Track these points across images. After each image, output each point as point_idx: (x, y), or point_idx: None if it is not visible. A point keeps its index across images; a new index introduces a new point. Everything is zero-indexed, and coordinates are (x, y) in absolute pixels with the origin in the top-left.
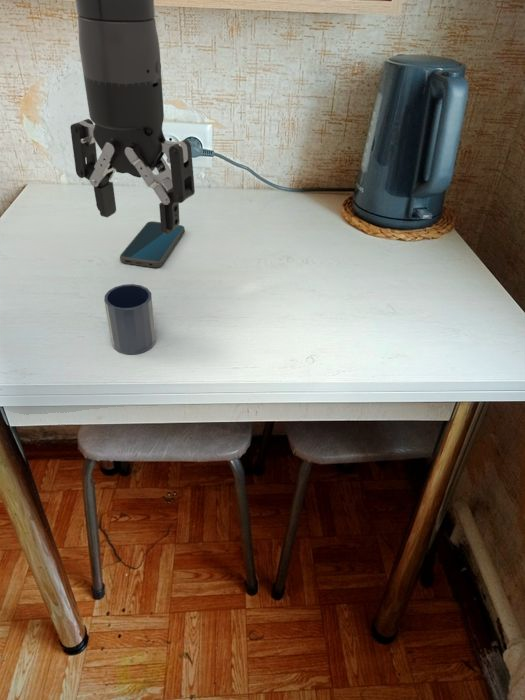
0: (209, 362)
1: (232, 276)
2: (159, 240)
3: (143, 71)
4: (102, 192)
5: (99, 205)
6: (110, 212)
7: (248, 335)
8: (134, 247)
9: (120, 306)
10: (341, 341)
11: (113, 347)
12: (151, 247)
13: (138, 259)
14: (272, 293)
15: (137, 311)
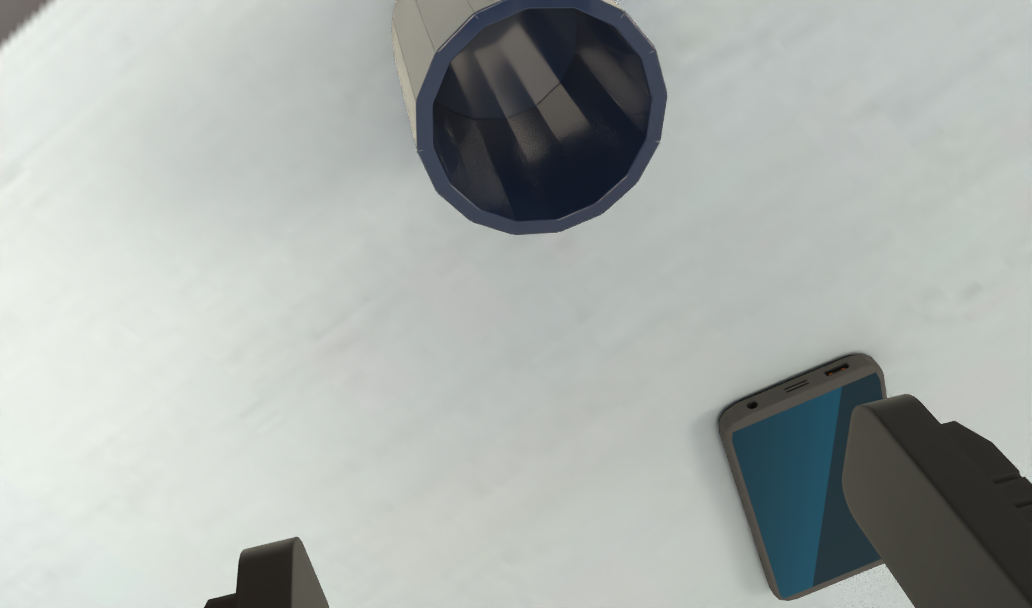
0: (122, 130)
1: (465, 531)
2: (807, 509)
3: None
4: (1005, 587)
5: (962, 457)
6: (860, 462)
7: (149, 348)
8: None
9: (608, 99)
10: None
11: None
12: (807, 468)
13: (806, 397)
14: None
15: (423, 68)
